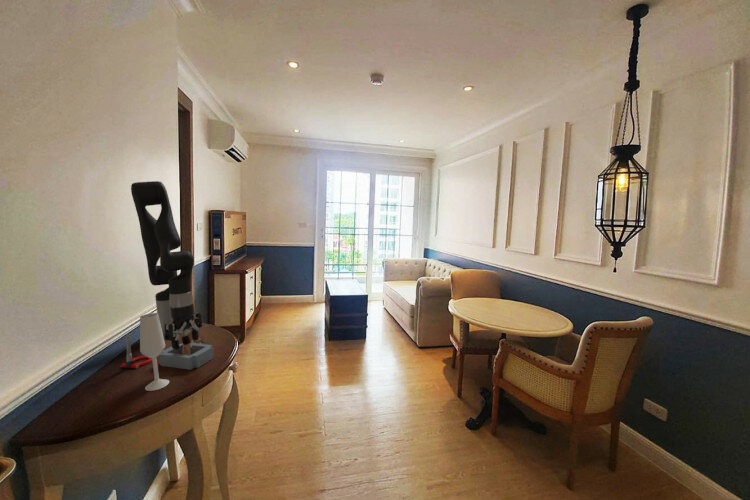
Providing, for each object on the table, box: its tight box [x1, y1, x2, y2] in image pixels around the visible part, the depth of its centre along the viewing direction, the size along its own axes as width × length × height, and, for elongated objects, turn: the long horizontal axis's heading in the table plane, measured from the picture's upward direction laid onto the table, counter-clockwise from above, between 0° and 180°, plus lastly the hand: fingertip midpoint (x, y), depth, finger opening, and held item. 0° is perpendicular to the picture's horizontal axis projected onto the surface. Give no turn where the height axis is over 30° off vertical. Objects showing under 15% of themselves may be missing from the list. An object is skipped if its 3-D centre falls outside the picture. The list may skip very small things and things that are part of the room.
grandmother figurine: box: [180, 328, 192, 355], centre depth 117 cm, size 8×4×13 cm, turn 60°
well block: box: [158, 342, 215, 371], centre depth 117 cm, size 11×17×4 cm, turn 75°
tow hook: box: [120, 333, 152, 369], centre depth 116 cm, size 8×13×9 cm
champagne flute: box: [139, 312, 170, 392], centre depth 99 cm, size 7×7×24 cm
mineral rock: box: [190, 337, 204, 344], centre depth 129 cm, size 11×4×8 cm
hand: (186, 344), depth 116 cm, fingers open, 8 cm apart
